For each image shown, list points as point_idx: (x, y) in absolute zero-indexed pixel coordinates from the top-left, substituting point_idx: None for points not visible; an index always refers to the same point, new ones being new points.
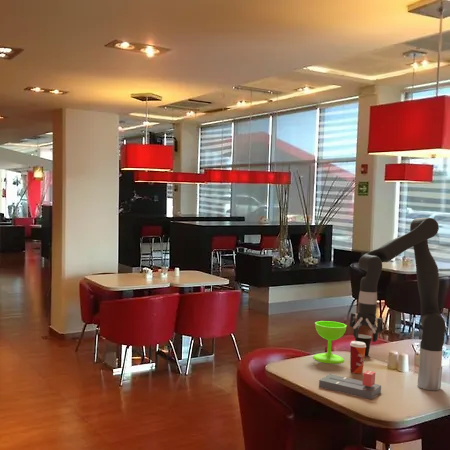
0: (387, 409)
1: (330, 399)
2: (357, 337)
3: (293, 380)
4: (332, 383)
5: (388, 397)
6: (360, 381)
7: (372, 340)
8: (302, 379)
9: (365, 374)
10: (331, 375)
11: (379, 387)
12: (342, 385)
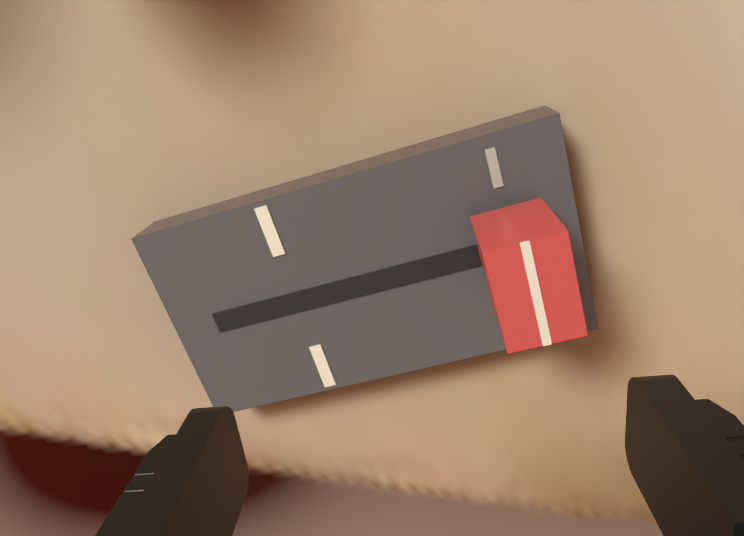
0: (741, 367)
1: (422, 488)
2: (234, 421)
3: (66, 416)
4: (308, 392)
5: (645, 159)
6: (391, 186)
7: (639, 481)
8: (67, 358)
9: (527, 345)
10: (168, 262)
11: (564, 155)
12: (378, 377)
